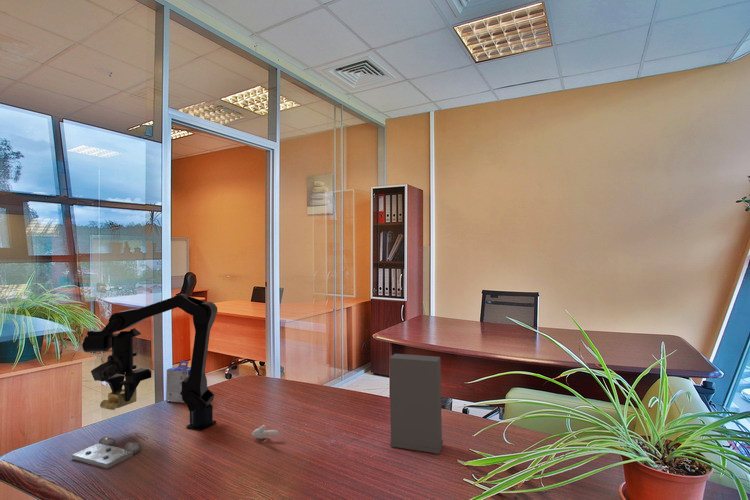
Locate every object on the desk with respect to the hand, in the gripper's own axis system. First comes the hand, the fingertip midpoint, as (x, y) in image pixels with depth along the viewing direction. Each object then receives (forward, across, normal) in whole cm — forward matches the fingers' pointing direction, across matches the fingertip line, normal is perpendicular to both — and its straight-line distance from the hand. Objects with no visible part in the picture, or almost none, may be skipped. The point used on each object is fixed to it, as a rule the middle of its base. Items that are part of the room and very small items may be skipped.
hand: (122, 400), depth 120 cm
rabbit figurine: (+10, +47, +9) cm, 49 cm away
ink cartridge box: (+10, -4, +26) cm, 28 cm away
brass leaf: (+1, 0, -1) cm, 2 cm away
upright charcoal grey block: (+10, +90, +21) cm, 93 cm away
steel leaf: (+9, +11, -12) cm, 19 cm away
